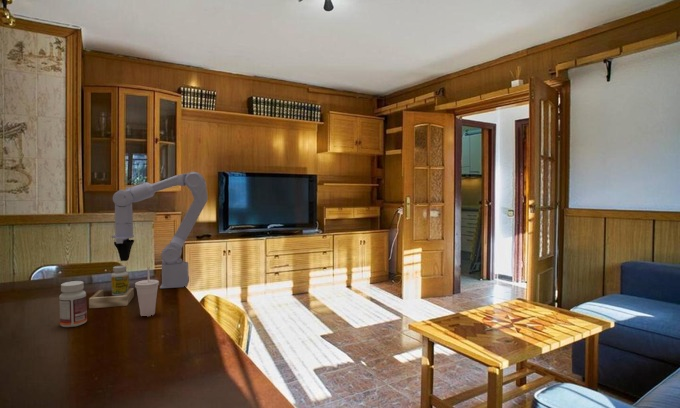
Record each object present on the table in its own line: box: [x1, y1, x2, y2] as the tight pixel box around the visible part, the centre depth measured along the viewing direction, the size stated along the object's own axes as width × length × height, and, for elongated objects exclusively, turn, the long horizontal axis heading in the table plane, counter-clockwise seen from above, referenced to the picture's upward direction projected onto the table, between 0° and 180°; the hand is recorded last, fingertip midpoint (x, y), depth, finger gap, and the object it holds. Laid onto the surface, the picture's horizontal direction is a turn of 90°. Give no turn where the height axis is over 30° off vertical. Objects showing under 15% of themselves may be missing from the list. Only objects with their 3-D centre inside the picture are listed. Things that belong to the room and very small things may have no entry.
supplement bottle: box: [110, 265, 130, 296], centre depth 137 cm, size 5×5×10 cm
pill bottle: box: [58, 280, 88, 328], centre depth 107 cm, size 6×6×11 cm
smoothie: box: [134, 266, 160, 317], centre depth 115 cm, size 6×6×14 cm
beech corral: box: [88, 287, 135, 309], centre depth 127 cm, size 10×10×3 cm
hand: (124, 260), depth 143 cm, fingers closed
